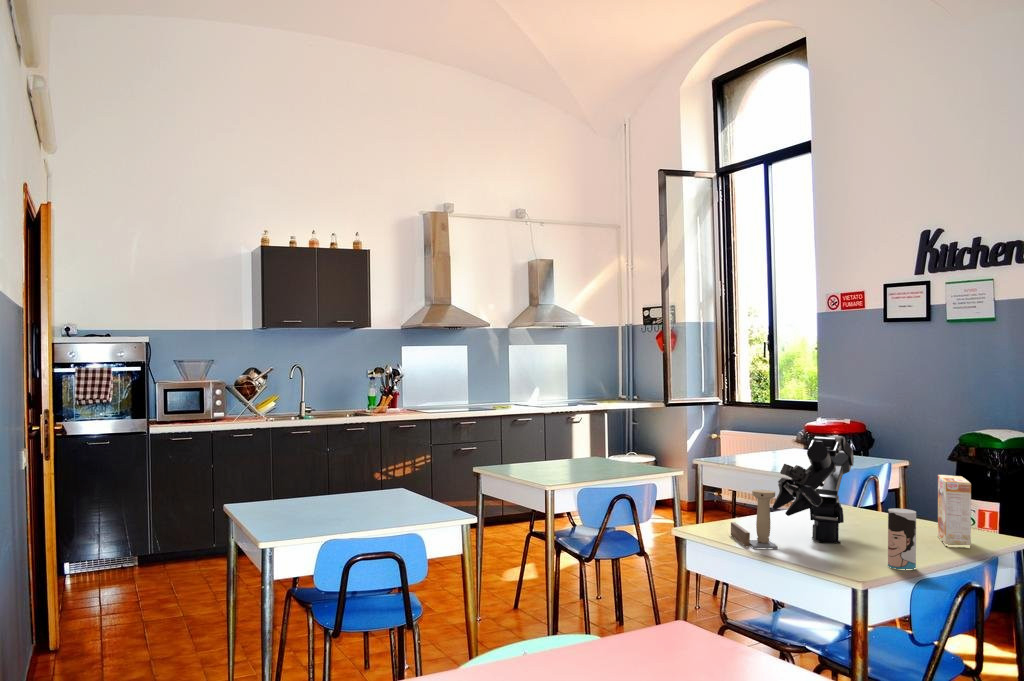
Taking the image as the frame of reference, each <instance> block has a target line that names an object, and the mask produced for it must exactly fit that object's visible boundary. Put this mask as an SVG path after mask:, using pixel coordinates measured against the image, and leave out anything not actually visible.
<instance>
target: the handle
mask: <svg viewBox="0 0 1024 681" xmlns="http://www.w3.org/2000/svg"><path fill="white" fill-rule="evenodd" d="M752 496H753V497H755V498H756V499H757V511H756V522H755V525H756V528H755V529H756V536H757V538H756V540H757V541H758V542H760V543H768V542H769V541H770V536H771V513H770V512H771V507H770V506H771V505H770V504H771V499H773V498H775V496H776V491H775V490H774V491H773V490H766V489H753V490H752Z"/></svg>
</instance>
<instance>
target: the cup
mask: <svg viewBox="0 0 1024 681" xmlns="http://www.w3.org/2000/svg"><path fill="white" fill-rule="evenodd" d="M887 513H888V514H887V567H888V566H889V567H888V568H890V567H891V569H892V568H896V569H905V570H906V569H914V568H916V569H917V567H916V566H917V511H915V510H913V509H907V508H895V507H894V508H888V509H887ZM896 569H895V570H896Z"/></svg>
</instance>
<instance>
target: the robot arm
mask: <svg viewBox="0 0 1024 681" xmlns="http://www.w3.org/2000/svg"><path fill="white" fill-rule="evenodd" d="M806 454H807V457H808V460H809V463H810V466H808V467H807V468H804V467H802V466H801V465H797V464H796V465H795V466H792V465H789V464H787V463H784V464H783V465H782V467H781V470H780V472H779V474H780V475H785V476H786V477H781V478H780V479H779V480H778V481H777V483H778V489H779V490H778V491H779V492H778V494H777V497H776V499H775V500H774V502H773V505H772V507H771V508H772V509H773V510H774V511H776V510H778V509H780V508H782V507H783V506H785V505H788V503H791V502H792V503H791V504H790V506H789V507H788V508H787V510H786V511H785V512H784V513H785V515H786V516H788V517H790V516H792V515H795V514H797V513H800V512H803V511H806V510H809V516H810V519H809V520H810V521H813V524H812V537H811V539H812V540H814V541H815V542H817V543H819V544H841V543H842V541H840V540H839V534H840V532H839V526H840V524H842V523H845V522H844V520H845V519H844V518H845V517H844V510H843V508H844V507H842V505H841V502H840V496H839V490H840V486H841V483H842V480H843V476H844V475H845V474H847V473H849V472H850V471H851V469H852V467H854V459H855V458H854V452H853V448H852V447H851V446H850V445H849V444H848V443H847V442H846V438H845V436H843V435H829V436H817V435H815V436H814V437H813V439H812V440H811V442H810V444H809V446H808V449H807V450H806ZM788 477H789V478H788ZM790 478H791V479H790ZM819 487H820V488H819Z"/></svg>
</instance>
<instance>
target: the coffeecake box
mask: <svg viewBox="0 0 1024 681" xmlns="http://www.w3.org/2000/svg"><path fill="white" fill-rule="evenodd" d="M971 534H972V483H971V482H970V481H969V480H968V479H966V478H965V477H963V476H961V475H950V474H949V475H948V474H937V537H938V536H939V537H940V539H941V540H942V541H943V542H944V543H945V544H948V545H970V546H971V547H972V545H971V544H972V540H971V539H972V535H971ZM940 539H939V540H940ZM941 540H940V541H941Z"/></svg>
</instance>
